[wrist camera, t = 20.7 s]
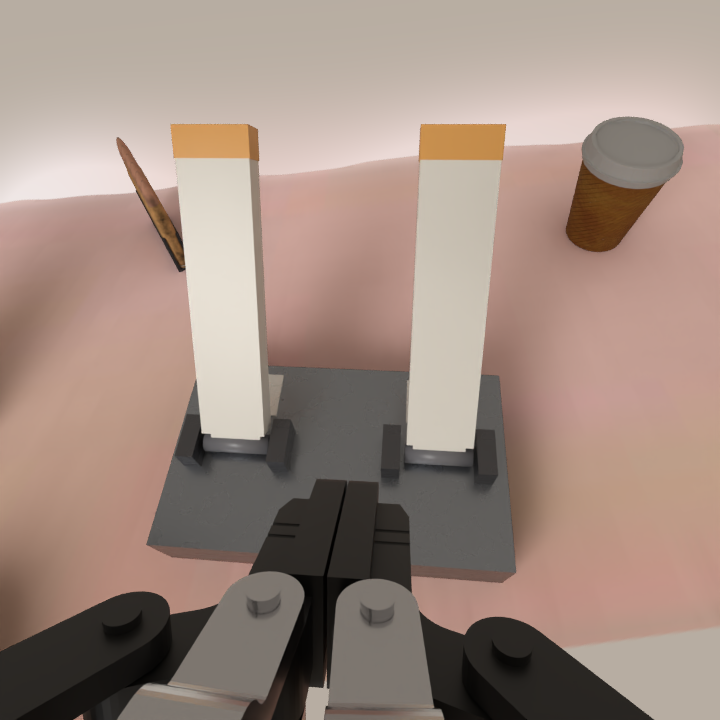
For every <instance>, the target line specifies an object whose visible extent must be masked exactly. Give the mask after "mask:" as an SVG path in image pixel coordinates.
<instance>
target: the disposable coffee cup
mask: <svg viewBox="0 0 720 720" xmlns="http://www.w3.org/2000/svg"><path fill="white" fill-rule="evenodd" d="M683 150H684V145H683V143H682V140H681V139H680V137H679V136H678V135H677V134H676V133H675V132H673V131H672V130H671V129H670V128H668V127H666V126H664V125H662V124H661V123H658V122H655V121H653V120H649V119H645V118H638V117H618V118H612V119H609V120H606V121H604V122H602V123H600V124H599V125H598V126H596V127H595V129H594V130H593V132H592V133H591V134H590V135H588V136H587V137H586V139H585V140H584V142H583V145H582V159H583V160H582V165H581V168H580V172H579V176H578V181H577V185H576V190H575V194H574V198H573V201H572V206H571V210H570V214H569V218H568V222H567V226H566V234H567V236H568V238H569V239H570V240H571V241H572V242H573V243H574V244H575V245H577V246H579V247H580V248H583V249H585V250H588V251H594V252H603V251H608V250H611V249H613V248H615V247H616V246H617V245H618V244H619V243H620V241H621V240H622V239H623V237H624V236H625V235H626V233H627V232H628V231H629V230H630V228H631V227H632V226H633V224H634V223H635V222H636V220H637V219H638V218H639V216H640V215H641V214H642V213H643V211H644V210H645V209H646V207H647V206H648V205H649V204H650V202H651V201H652V200H653V198H654V197H655V196H656V194H657V193H658V192H659V191H660V189H661V188H662V186H663V185H664V184H665V183H666V182H667V181H669V180H670V179H671V178H672V177H674V176H675V175H676V174H677V173H678V172H679V170H680V169H681V166H682V163H683V160H682V155H683Z"/></svg>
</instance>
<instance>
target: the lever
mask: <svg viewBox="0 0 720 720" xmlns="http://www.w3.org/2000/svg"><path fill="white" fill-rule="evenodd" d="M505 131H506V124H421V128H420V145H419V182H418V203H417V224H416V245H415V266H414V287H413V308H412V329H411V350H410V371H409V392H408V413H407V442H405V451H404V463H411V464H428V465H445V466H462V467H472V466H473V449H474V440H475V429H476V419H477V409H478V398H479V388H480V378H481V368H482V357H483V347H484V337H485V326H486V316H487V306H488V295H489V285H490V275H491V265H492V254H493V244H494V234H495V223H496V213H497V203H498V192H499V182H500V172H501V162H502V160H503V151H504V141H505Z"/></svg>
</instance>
